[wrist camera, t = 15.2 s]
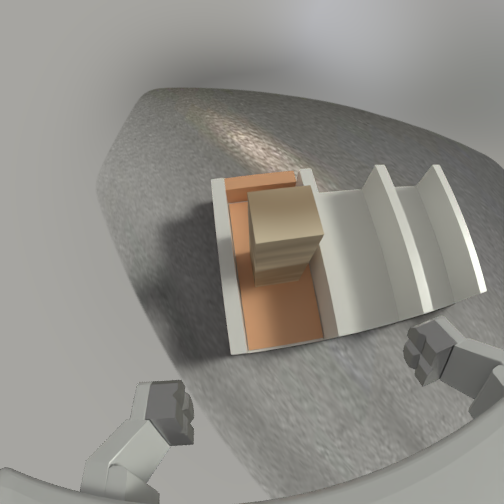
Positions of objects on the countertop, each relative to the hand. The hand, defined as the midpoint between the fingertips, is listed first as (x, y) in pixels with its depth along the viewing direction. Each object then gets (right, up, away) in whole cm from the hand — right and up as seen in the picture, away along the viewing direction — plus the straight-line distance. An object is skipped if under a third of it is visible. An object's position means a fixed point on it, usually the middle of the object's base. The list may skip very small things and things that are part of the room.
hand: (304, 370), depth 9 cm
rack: (+7, +3, +16) cm, 17 cm away
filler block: (0, +3, +14) cm, 14 cm away
